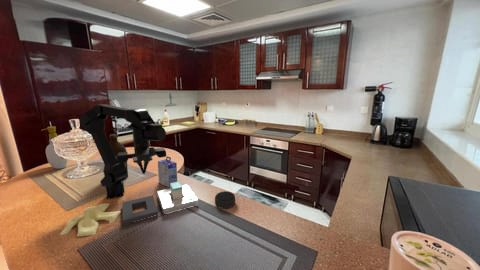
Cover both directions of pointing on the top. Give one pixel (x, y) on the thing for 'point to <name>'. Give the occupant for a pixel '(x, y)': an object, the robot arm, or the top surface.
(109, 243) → the top surface
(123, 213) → the dark grey flat frame
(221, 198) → the smart speaker
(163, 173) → the ink cartridge box
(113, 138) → the olive oil
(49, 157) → the soap bottle
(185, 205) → the block
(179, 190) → the plug
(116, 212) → the cloth
